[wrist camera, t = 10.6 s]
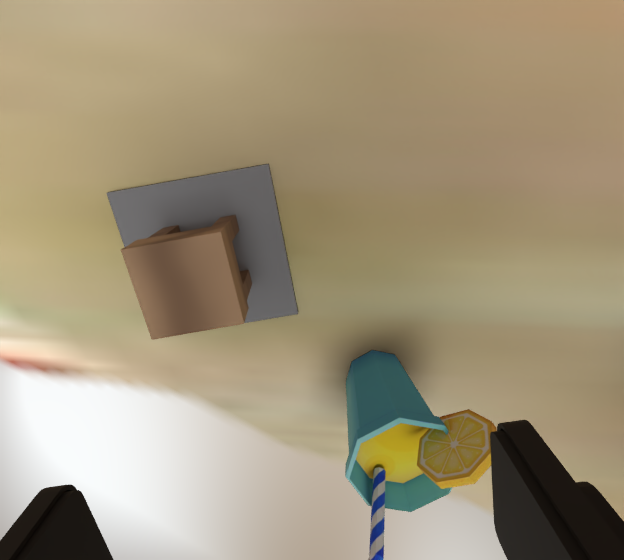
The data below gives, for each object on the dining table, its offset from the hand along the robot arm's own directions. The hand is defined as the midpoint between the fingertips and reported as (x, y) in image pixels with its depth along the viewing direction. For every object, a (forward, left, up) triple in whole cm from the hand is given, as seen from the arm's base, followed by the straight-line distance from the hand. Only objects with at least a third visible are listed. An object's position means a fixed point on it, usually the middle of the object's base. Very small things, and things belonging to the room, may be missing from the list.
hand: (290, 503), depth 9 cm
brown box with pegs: (+7, 0, -23) cm, 24 cm away
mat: (+7, 0, -24) cm, 25 cm away
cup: (-4, +14, -24) cm, 28 cm away
